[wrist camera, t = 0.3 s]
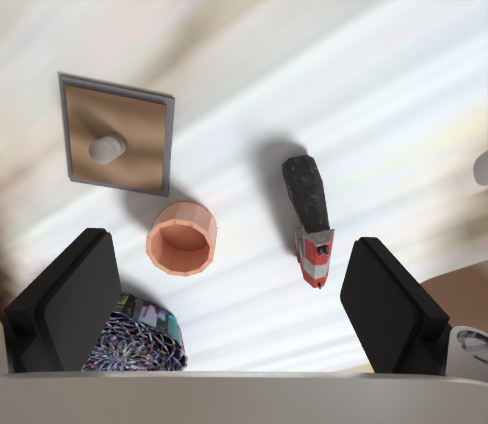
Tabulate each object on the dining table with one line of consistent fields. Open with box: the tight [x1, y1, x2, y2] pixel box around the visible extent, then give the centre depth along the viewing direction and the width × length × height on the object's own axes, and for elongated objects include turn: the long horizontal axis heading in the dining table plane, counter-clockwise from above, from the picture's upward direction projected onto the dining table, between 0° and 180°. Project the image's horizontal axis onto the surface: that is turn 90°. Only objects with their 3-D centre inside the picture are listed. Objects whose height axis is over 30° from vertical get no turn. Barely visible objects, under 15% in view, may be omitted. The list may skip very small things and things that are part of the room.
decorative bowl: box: [81, 293, 188, 371], centre depth 58 cm, size 26×28×10 cm
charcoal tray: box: [60, 76, 175, 197], centre depth 43 cm, size 16×16×1 cm
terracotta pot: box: [146, 201, 217, 276], centre depth 47 cm, size 11×11×7 cm
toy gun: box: [282, 155, 334, 289], centre depth 47 cm, size 5×22×15 cm, turn 13°
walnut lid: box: [65, 85, 167, 192], centre depth 40 cm, size 14×14×6 cm
